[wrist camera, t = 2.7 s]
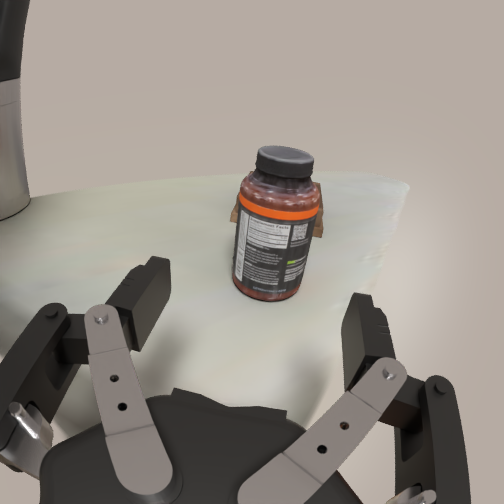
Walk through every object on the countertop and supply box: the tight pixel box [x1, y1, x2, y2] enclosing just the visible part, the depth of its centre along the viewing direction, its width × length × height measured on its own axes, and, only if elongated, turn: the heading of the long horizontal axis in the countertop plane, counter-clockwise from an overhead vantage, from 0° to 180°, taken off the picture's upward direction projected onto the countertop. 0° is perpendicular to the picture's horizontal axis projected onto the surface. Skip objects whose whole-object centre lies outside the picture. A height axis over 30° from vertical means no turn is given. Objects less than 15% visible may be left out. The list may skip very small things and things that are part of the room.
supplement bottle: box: [232, 146, 320, 301], centre depth 25 cm, size 6×6×11 cm
